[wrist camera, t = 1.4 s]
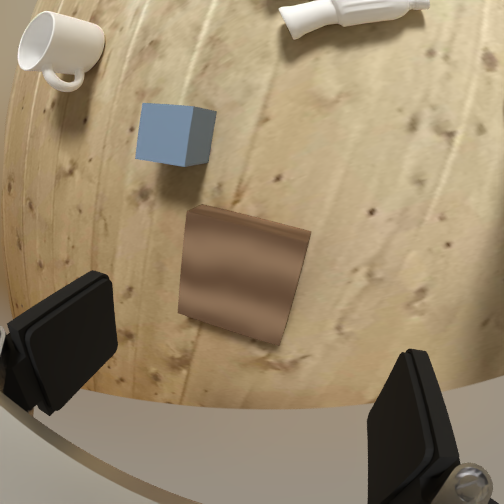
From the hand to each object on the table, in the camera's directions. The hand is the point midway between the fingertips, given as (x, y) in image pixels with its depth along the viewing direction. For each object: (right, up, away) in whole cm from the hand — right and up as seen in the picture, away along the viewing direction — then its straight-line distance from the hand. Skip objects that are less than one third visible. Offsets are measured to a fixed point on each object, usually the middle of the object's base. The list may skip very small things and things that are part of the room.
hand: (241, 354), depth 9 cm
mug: (-23, +31, +25) cm, 46 cm away
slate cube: (-7, +17, +25) cm, 31 cm away
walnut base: (0, +1, +29) cm, 29 cm away
